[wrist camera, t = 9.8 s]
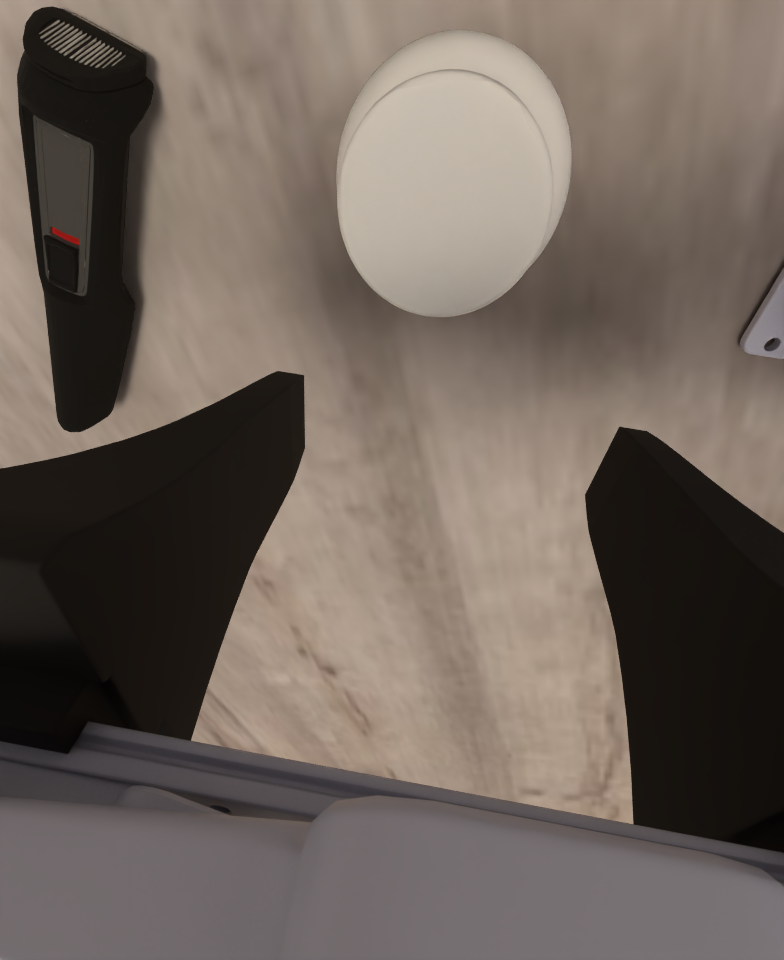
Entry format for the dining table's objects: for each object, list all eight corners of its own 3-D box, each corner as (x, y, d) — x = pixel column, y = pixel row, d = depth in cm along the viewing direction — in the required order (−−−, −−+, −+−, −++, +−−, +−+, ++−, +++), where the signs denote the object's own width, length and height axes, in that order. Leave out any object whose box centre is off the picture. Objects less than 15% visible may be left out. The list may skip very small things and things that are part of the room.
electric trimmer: (65, 384, 25) (21, 416, 22) (49, -1, 15) (-33, -18, 12) (137, 414, 25) (101, 448, 23) (166, 62, 16) (109, 58, 13)
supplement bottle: (410, 19, 14) (340, -70, 7) (573, 93, 15) (679, 90, 7) (361, 211, 18) (278, 298, 10) (494, 265, 18) (510, 386, 11)
